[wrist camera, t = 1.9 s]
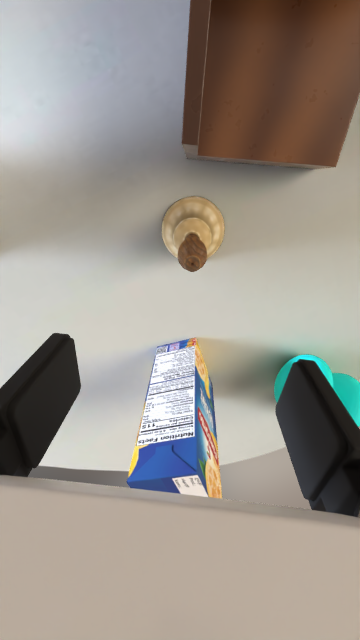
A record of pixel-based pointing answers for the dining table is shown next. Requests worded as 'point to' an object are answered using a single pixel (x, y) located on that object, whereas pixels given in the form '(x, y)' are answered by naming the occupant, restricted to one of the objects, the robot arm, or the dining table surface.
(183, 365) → the beverage box
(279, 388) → the donuts
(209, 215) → the hand bell
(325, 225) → the dining table surface
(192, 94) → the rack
